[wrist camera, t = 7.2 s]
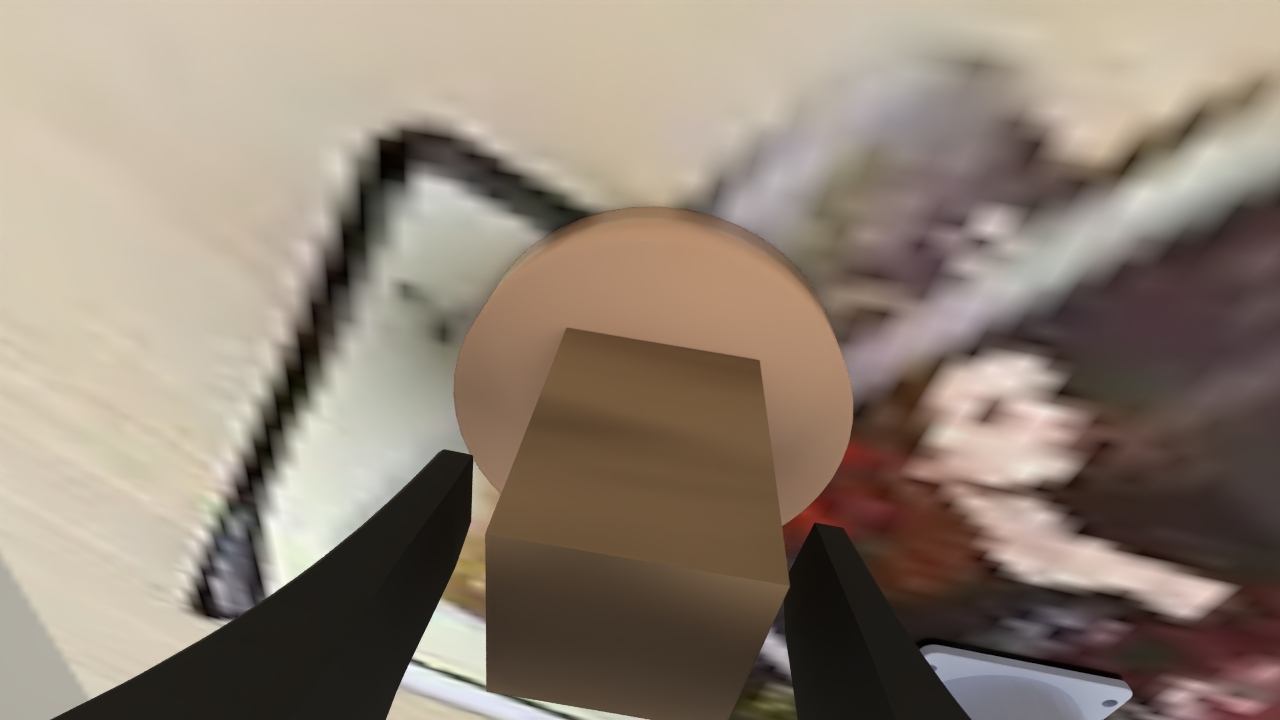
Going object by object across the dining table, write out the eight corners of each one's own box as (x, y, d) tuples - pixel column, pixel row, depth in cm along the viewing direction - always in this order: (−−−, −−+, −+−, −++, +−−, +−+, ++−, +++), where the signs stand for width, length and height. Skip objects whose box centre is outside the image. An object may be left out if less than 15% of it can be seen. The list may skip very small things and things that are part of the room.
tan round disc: (778, 517, 20) (786, 581, 18) (483, 468, 20) (458, 526, 18) (890, 240, 14) (922, 285, 12) (483, 169, 14) (446, 203, 12)
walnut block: (718, 496, 16) (723, 732, 11) (554, 468, 16) (486, 691, 11) (759, 360, 14) (790, 585, 9) (566, 327, 14) (485, 533, 9)
